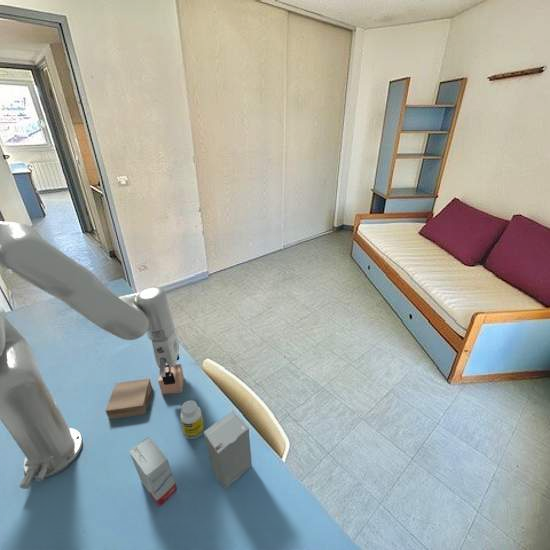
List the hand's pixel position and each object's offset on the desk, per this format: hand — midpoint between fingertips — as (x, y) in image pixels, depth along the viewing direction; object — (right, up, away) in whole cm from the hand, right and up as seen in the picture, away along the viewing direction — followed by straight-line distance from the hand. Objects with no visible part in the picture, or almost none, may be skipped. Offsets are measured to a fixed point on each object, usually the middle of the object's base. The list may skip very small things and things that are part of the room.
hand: (172, 371), depth 95 cm
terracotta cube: (0, -5, +2) cm, 6 cm away
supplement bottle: (+10, -13, -11) cm, 20 cm away
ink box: (+5, -19, -24) cm, 31 cm away
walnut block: (-11, -9, -3) cm, 14 cm away
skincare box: (+22, -18, -21) cm, 35 cm away
